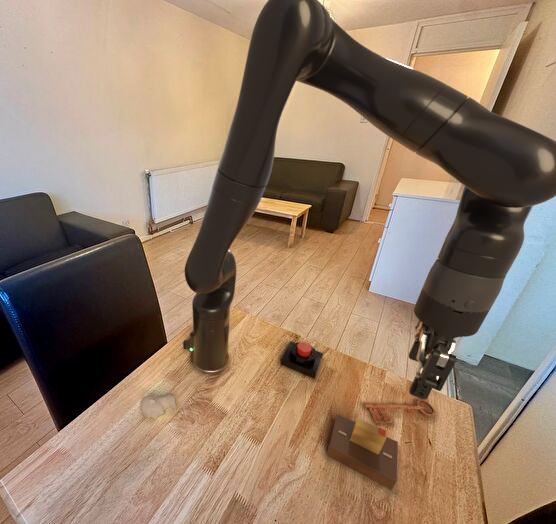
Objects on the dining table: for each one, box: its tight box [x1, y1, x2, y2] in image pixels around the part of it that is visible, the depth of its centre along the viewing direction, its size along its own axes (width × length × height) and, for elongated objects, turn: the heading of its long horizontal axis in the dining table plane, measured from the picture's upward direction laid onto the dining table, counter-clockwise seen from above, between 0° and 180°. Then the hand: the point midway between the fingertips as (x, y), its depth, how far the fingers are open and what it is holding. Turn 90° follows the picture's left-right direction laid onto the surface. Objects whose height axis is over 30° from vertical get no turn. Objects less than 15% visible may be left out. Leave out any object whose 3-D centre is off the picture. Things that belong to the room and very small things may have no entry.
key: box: [363, 399, 436, 424], centre depth 64 cm, size 6×1×15 cm
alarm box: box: [280, 340, 324, 380], centre depth 76 cm, size 9×8×4 cm
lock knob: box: [350, 417, 388, 455], centre depth 53 cm, size 5×2×5 cm, turn 58°
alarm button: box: [296, 341, 312, 357], centre depth 75 cm, size 4×4×2 cm
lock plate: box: [326, 413, 399, 491], centre depth 55 cm, size 11×8×3 cm
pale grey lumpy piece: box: [139, 392, 177, 420], centre depth 63 cm, size 4×8×5 cm
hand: (416, 376), depth 47 cm, fingers open, 8 cm apart
